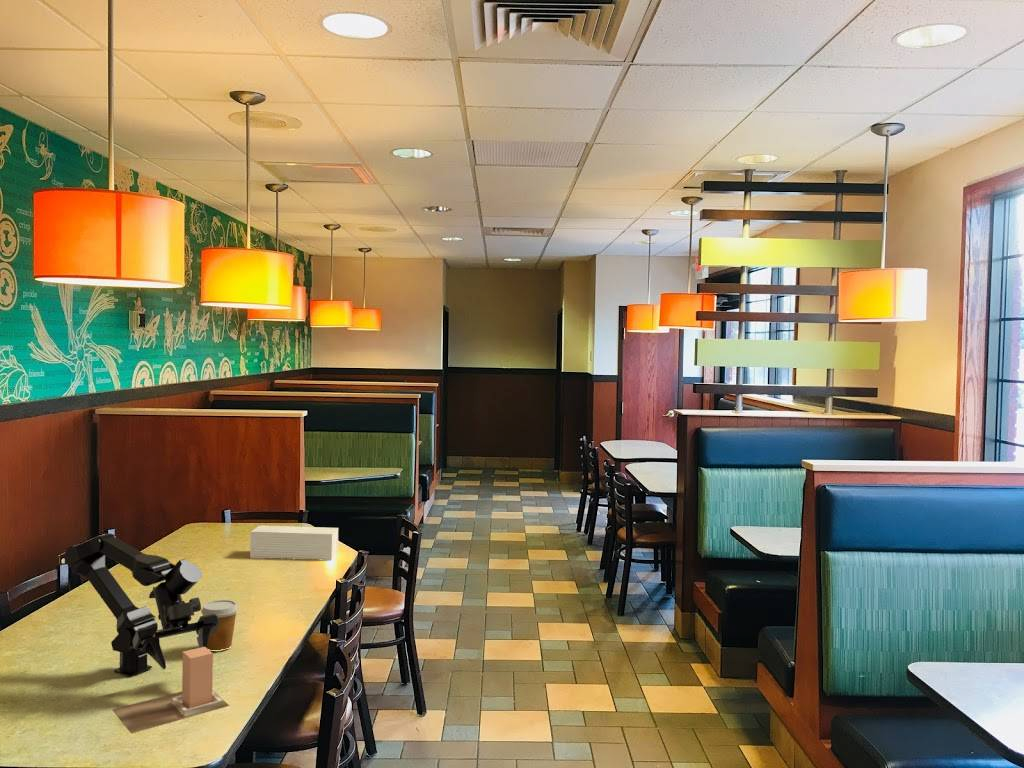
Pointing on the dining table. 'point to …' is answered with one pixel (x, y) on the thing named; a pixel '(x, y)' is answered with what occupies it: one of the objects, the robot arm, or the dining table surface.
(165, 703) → the baseboard
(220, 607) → the disposable coffee cup
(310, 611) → the dining table surface
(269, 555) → the stack of papers
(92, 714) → the dining table surface
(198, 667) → the pillar
